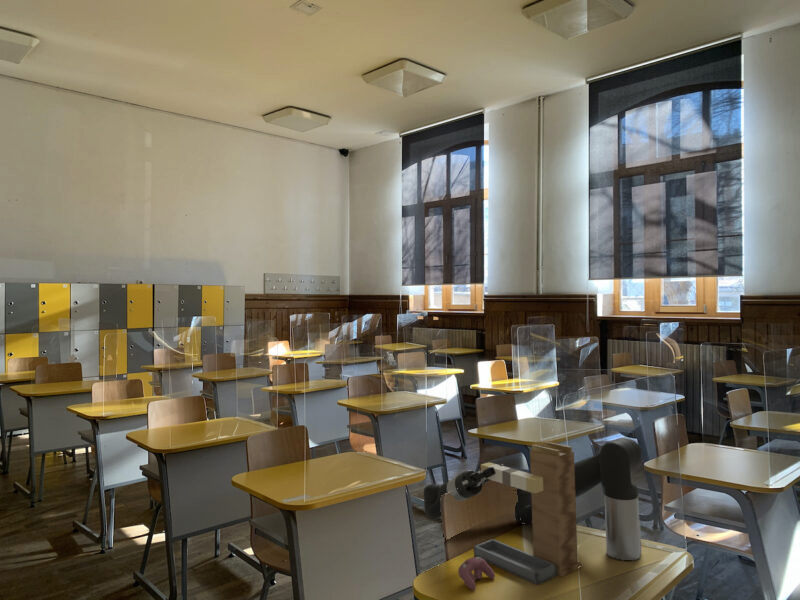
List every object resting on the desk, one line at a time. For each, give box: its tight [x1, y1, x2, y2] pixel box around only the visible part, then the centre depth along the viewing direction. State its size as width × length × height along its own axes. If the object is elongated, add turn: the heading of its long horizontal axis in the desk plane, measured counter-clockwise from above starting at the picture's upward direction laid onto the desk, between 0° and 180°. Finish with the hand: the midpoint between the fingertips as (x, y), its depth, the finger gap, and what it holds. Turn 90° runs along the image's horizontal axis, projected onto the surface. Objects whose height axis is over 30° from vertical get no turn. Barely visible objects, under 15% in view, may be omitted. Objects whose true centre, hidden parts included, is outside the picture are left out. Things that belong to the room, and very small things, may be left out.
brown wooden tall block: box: [529, 441, 583, 578], centre depth 166 cm, size 9×11×34 cm
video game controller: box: [457, 557, 496, 591], centre depth 158 cm, size 10×5×7 cm, turn 135°
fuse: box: [480, 462, 543, 493], centre depth 167 cm, size 4×20×4 cm, turn 37°
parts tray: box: [473, 538, 558, 586], centre depth 167 cm, size 8×24×3 cm, turn 37°
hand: (498, 468), depth 170 cm, fingers closed on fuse, 3 cm apart
